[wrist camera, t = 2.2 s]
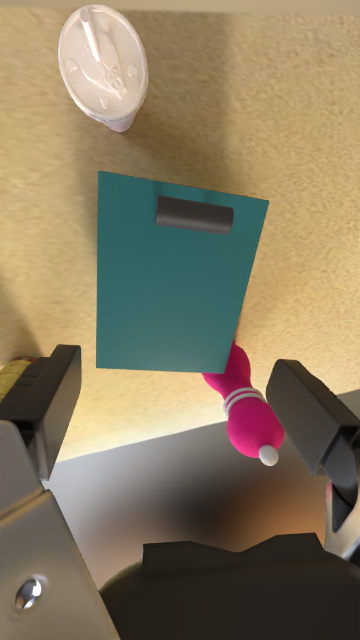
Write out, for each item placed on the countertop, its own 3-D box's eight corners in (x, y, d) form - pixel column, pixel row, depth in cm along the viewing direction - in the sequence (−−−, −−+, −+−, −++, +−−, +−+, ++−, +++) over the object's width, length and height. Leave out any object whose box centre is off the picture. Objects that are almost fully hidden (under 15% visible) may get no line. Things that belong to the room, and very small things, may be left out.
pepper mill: (187, 346, 40) (221, 462, 22) (225, 322, 39) (293, 423, 21) (209, 375, 43) (255, 497, 25) (245, 353, 42) (319, 464, 24)
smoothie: (116, 54, 25) (86, -102, 12) (159, 116, 27) (172, 41, 15) (73, 105, 26) (5, 11, 13) (118, 160, 29) (97, 125, 16)
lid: (99, 171, 19) (82, 159, 14) (265, 200, 21) (303, 199, 16) (97, 363, 26) (85, 402, 21) (222, 369, 28) (239, 405, 23)
